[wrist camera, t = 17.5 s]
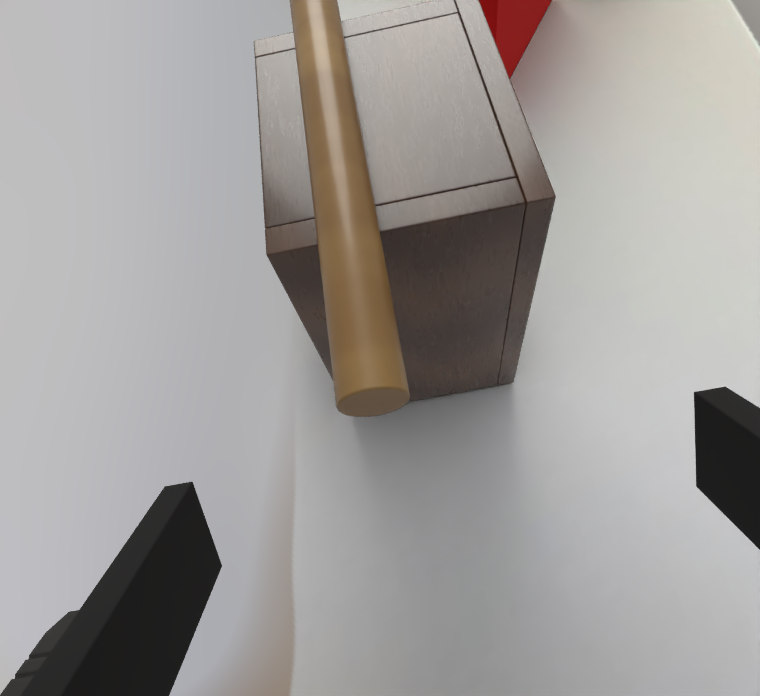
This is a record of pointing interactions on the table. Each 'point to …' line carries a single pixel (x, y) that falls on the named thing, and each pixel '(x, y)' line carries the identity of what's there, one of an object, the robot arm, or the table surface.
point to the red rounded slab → (513, 26)
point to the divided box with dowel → (400, 198)
